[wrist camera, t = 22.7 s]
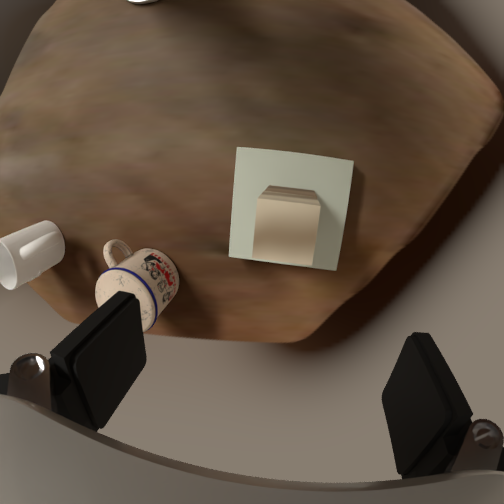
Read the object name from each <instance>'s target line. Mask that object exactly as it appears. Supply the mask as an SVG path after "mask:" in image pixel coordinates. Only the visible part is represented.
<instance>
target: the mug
mask: <svg viewBox="0 0 504 504" xmlns="http://www.w3.org/2000/svg"><path fill="white" fill-rule="evenodd" d="M64 253H65V243H64V238H63V235H62V233H61V231H60V230H59V228H58V227H57V226H56V225H55V224H54V223H53V222H51V221H43V222H40V223H37V224H35V225H32V226H30V227H27V228H25V229H22V230H20V231H17V232H15V233H12V234H10V235H7V236H5V237H3V238H0V283H1V284H2V285H3V286H4V287H5V288H7V289H9V290H14V289H15V288H17V287H19V286H20V285H22V284H24V283H25V282H28V281H29V282H30V281H31V280H33V279H34V278H36V277H38V276H40V274H41V273H42V272H44V271H45V270H47V269H49V268H51V267H52V266H54V265H56V264H58V263H59V262H60V261H61V260H62V259H63V257H64Z"/></svg>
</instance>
